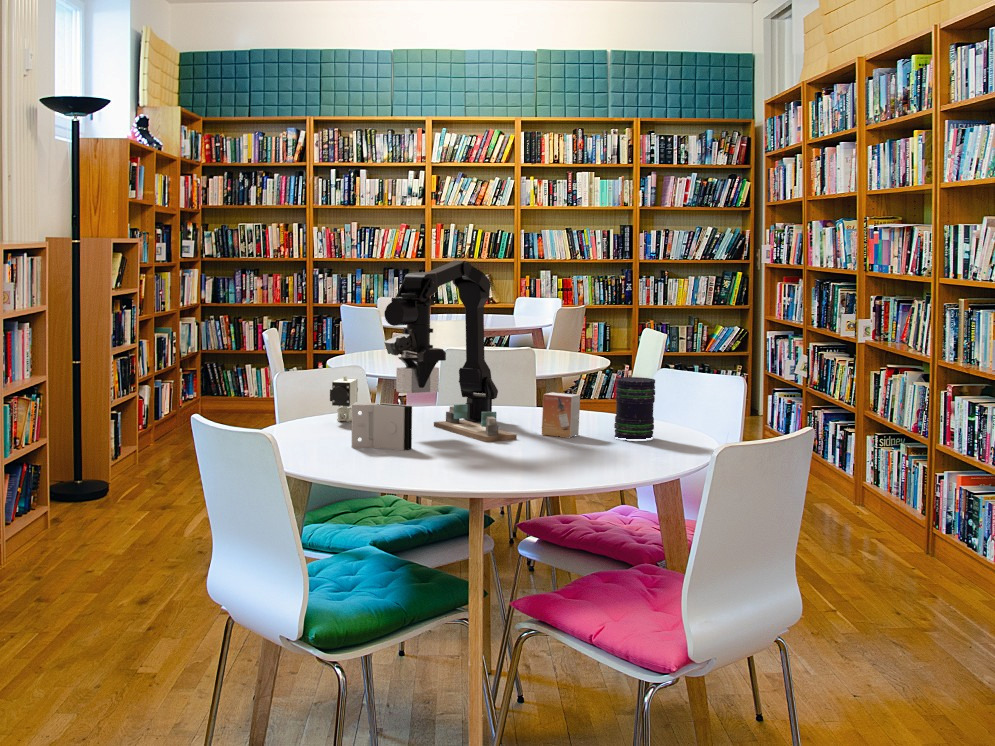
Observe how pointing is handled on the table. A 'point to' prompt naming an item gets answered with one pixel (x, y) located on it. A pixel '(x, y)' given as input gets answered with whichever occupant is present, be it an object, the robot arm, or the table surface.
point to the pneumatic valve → (344, 397)
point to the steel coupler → (415, 380)
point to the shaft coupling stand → (473, 425)
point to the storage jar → (634, 407)
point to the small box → (560, 414)
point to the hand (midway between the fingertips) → (417, 386)
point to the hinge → (382, 426)
